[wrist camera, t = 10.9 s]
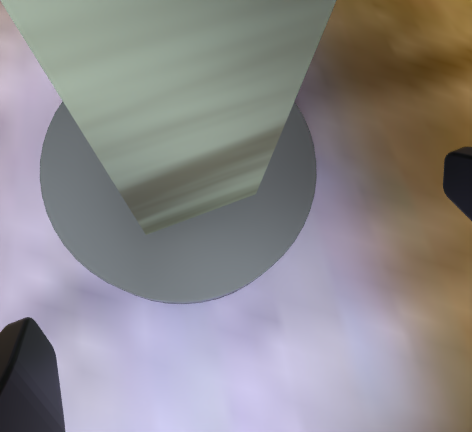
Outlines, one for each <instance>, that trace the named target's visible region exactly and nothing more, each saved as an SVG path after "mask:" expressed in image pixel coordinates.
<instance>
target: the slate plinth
mask: <svg viewBox="0 0 472 432" xmlns="http://www.w3.org/2000/svg"><path fill="white" fill-rule="evenodd" d="M40 184H41V192H42V197H43V201H44V205H45V208H46V212H47V214H48V217H49V219H50V221H51V223H52V226H53V228H54V230H55V232H56V233H57V235H58V236H59V238H60V239H61V241H62V243H63V244H64V246H65V247H66V248H67V249H68V250H69V251H70V253H71V254H72V255H73V256H74V257H75V258H76V259H77V260H78V261H79V262H80V263H81V264H82V265H83V266H85V267H86V268H87V269H88V270H89V271H90V272H92V273H93V274H95V275H96V276H98V277H99V278H101V279H102V280H104V281H106V282H107V283H109V284H111V285H114V286H116V287H118V288H120V289H122V290H124V291H127V292H129V293H131V294H133V295H136V296H139V297H142V298H145V299H148V300H151V301H157V302H163V303H170V304H191V303H201V302H206V301H210V300H214V299H218V298H221V297H224V296H226V295H229V294H231V293H234V292H236V291H238V290H239V289H241V288H243V287H245V286H247V285H248V284H250V283H251V282H253V281H254V280H255V279H257V278H258V277H259V276H261V275H262V274H263V273H264V272H266V271H267V270H268V269H269V268H270V267H271V266H272V265H274V264H275V263H276V262H277V261H278V260H279V259H280V258H281V257H282V256H283V255H284V254H285V252H286V251H287V250H288V249H289V247H290V246H291V245H292V244H293V242H294V241H295V240H296V238H297V236H298V234H299V233H300V231H301V229H302V228H303V226H304V224H305V221H306V219H307V216H308V214H309V212H310V209H311V205H312V201H313V197H314V193H315V185H316V158H315V151H314V145H313V142H312V138H311V135H310V131H309V129H308V126H307V124H306V122H305V120H304V117H303V115H302V113H301V112H300V110H299V109H298V107H297V105H296V104H295V102H294V104H293V106H292V108H291V111H290V113H289V116H288V118H287V120H286V123H285V125H284V128H283V130H282V133H281V135H280V137H279V140H278V142H277V145H276V147H275V149H274V152H273V154H272V157H271V159H270V161H269V164H268V166H267V169H266V171H265V173H264V176H263V178H262V181H261V183H260V185H259V188H258V190H257V193H256V194H255V195H252V196H249V197H247V198H244V199H241V200H239V201H236V202H233V203H231V204H228V205H225V206H222V207H220V208H217V209H214V210H212V211H209V212H206V213H204V214H201V215H198V216H196V217H193V218H190V219H188V220H185V221H182V222H179V223H177V224H174V225H171V226H169V227H166V228H163V229H161V230H158V231H155V232H153V233H150V234H147V235H146V234H145V233H144V231H143V229H142V228H141V226H140V225H139V223H138V221H137V220H136V218H135V217H134V215H133V213H132V212H131V210H130V208H129V207H128V205H127V204H126V202H125V200H124V199H123V197H122V196H121V194H120V192H119V191H118V189H117V188H116V186H115V184H114V183H113V181H112V180H111V178H110V176H109V175H108V173H107V171H106V170H105V168H104V167H103V165H102V163H101V162H100V160H99V159H98V157H97V155H96V154H95V152H94V151H93V149H92V147H91V146H90V144H89V142H88V141H87V139H86V138H85V136H84V134H83V133H82V131H81V130H80V128H79V126H78V125H77V123H76V122H75V120H74V118H73V117H72V115H71V114H70V112H69V110H68V109H67V107H66V105H65V104H64V102H62V103H61V105H60V106H59V108H58V109H57V111H56V112H55V114H54V117H53V119H52V121H51V123H50V125H49V127H48V130H47V133H46V136H45V139H44V143H43V147H42V153H41V159H40Z"/></svg>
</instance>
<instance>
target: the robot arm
mask: <svg viewBox="0 0 472 432" xmlns="http://www.w3.org/2000/svg"><path fill="white" fill-rule="evenodd" d="M443 189H444V192H445V194H446V196H447V197H448V198H449V199H450V200H451V201H452V202H453V203H454V204H455V205H456V206H457V207H458V208H459V209H460V210H461V211H462V212H463V213H464V214H465V215H466V216H467V217H468V218H469V219H470V220H471V221H472V147H462V148H460V149H457V150H455V151H452V152H450V153H448V154H447V155H446V157H445V161H444V177H443ZM0 432H65V423H64V414H63V407H62V399H61V391H60V383H59V376H58V368H57V360H56V355H55V351H54V349H53V347H52V345H51V343H50V342H49V340H48V339H47V338H46V336H45V335H44V333H43V332H42V330H41V329H40V327H39V326H38V325H37V323H36V322H35V321H34V320H33V319H32V318H29V317H26V318H23V319H21V320H18V321H16V322H13V323H11V324H8V325H7V326H5V328H4V329H3V330H2V331H1V332H0Z"/></svg>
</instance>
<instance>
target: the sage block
mask: <svg viewBox="0 0 472 432" xmlns="http://www.w3.org/2000/svg"><path fill="white" fill-rule="evenodd" d="M0 1H1V2H2V4H3V6H4V7H5V9H6V10H7V12H8V14H9V15H10V17H11V19H12V20H13V22H14V23H15V25H16V27H17V28H18V30H19V31H20V33H21V35H22V36H23V38H24V39H25V41H26V43H27V44H28V46H29V48H30V49H31V51H32V52H33V54H34V56H35V57H36V59H37V60H38V62H39V64H40V65H41V67H42V68H43V70H44V72H45V73H46V75H47V76H48V78H49V80H50V81H51V83H52V85H53V86H54V88H55V89H56V91H57V93H58V94H59V96H60V97H61V99H62V101H63V102H64V104H65V105H66V107H67V109H68V110H69V112H70V114H71V115H72V117H73V118H74V120H75V122H76V123H77V125H78V126H79V128H80V130H81V131H82V133H83V134H84V136H85V138H86V139H87V141H88V142H89V144H90V146H91V147H92V149H93V151H94V152H95V154H96V155H97V157H98V159H99V160H100V162H101V163H102V165H103V167H104V168H105V170H106V171H107V173H108V175H109V176H110V178H111V180H112V181H113V183H114V184H115V186H116V188H117V189H118V191H119V192H120V194H121V196H122V197H123V199H124V200H125V202H126V204H127V205H128V207H129V208H130V210H131V212H132V213H133V215H134V217H135V218H136V220H137V221H138V223H139V225H140V226H141V228H142V229H143V231H144V233H145V234H146V235H147V234H150V233H153V232H155V231H158V230H161V229H163V228H166V227H169V226H171V225H174V224H177V223H179V222H182V221H185V220H188V219H190V218H193V217H196V216H198V215H201V214H204V213H206V212H209V211H212V210H214V209H217V208H220V207H222V206H225V205H228V204H231V203H233V202H236V201H239V200H241V199H244V198H247V197H249V196H252V195H255V194H256V193H257V190H258V188H259V185H260V183H261V181H262V178H263V176H264V173H265V171H266V169H267V166H268V164H269V161H270V159H271V157H272V154H273V152H274V149H275V147H276V145H277V142H278V140H279V137H280V135H281V133H282V130H283V128H284V125H285V123H286V120H287V118H288V116H289V113H290V111H291V108H292V106H293V104H294V101H295V99H296V96H297V94H298V92H299V89H300V87H301V84H302V82H303V80H304V77H305V75H306V72H307V70H308V68H309V65H310V63H311V60H312V58H313V56H314V53H315V51H316V48H317V46H318V44H319V41H320V39H321V36H322V34H323V32H324V29H325V27H326V24H327V22H328V20H329V17H330V15H331V12H332V10H333V8H334V5H335V3H336V0H0Z"/></svg>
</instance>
